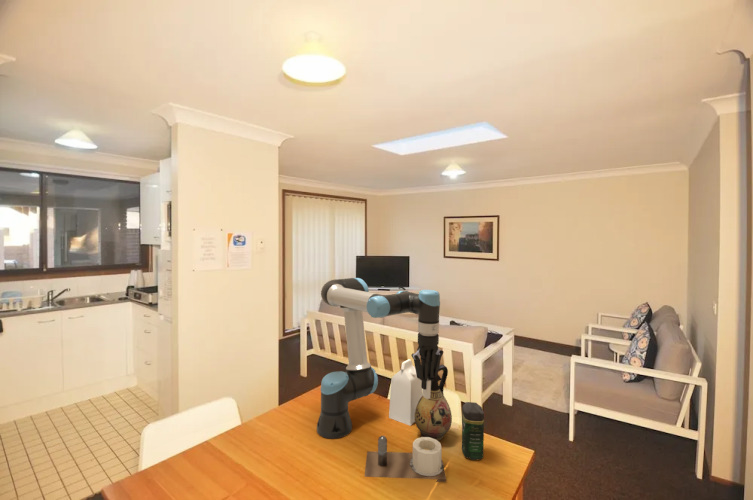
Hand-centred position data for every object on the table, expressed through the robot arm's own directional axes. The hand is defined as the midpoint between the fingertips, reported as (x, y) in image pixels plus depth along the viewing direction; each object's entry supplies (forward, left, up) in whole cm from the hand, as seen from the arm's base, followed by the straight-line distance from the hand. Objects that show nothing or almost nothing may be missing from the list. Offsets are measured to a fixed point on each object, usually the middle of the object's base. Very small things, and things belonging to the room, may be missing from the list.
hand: (426, 396), depth 125 cm
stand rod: (-13, -9, -25) cm, 30 cm away
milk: (-21, +28, -25) cm, 43 cm away
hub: (+1, -2, -25) cm, 25 cm away
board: (-6, -5, -25) cm, 26 cm away
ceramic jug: (-4, +20, -25) cm, 32 cm away
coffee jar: (+13, +16, -25) cm, 32 cm away
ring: (+1, -2, -24) cm, 24 cm away
